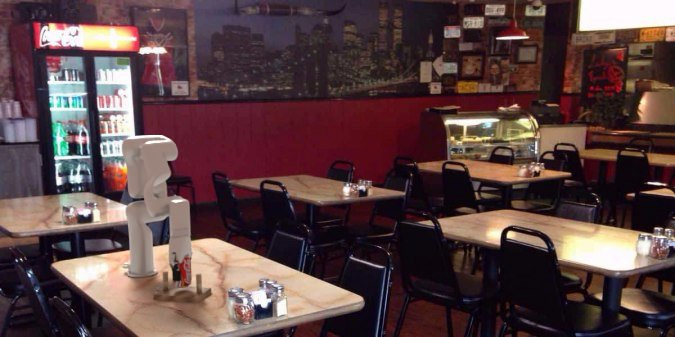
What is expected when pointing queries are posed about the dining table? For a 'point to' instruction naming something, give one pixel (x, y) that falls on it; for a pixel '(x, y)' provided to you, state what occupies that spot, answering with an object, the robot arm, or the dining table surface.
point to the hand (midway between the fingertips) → (181, 277)
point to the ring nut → (159, 287)
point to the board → (182, 291)
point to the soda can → (184, 273)
